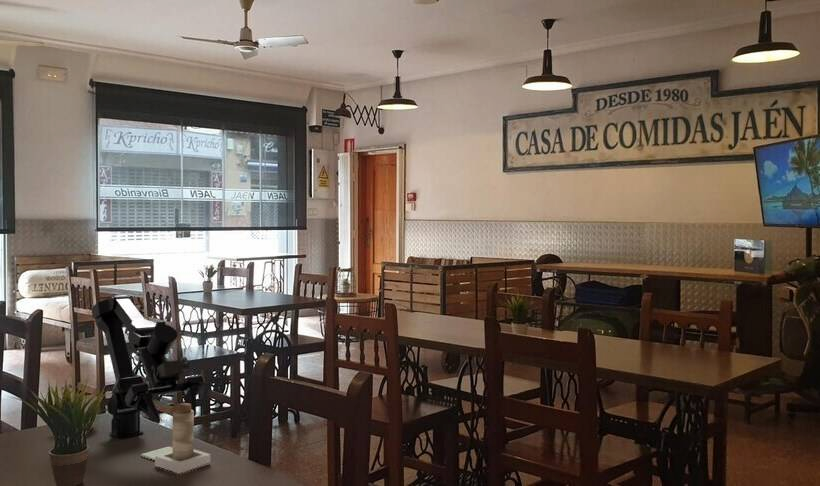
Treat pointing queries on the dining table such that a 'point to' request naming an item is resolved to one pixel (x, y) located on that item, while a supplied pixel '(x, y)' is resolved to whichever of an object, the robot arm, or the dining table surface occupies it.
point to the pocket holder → (180, 466)
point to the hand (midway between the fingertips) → (177, 419)
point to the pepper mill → (183, 432)
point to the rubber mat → (156, 452)
